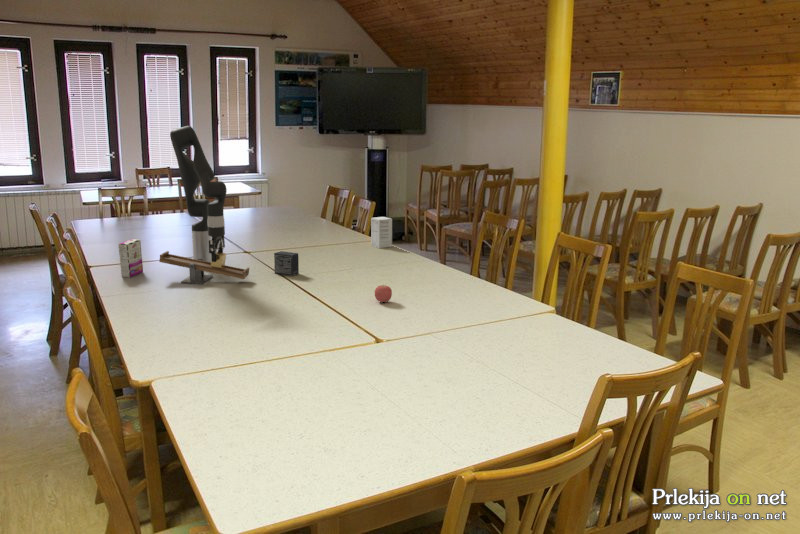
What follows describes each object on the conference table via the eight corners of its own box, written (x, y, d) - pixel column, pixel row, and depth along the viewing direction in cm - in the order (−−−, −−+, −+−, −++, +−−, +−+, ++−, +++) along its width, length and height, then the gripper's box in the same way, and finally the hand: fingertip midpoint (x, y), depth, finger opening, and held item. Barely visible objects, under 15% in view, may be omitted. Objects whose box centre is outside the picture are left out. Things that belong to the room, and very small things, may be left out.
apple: (375, 299, 295) (375, 281, 293) (392, 299, 295) (392, 282, 293) (373, 304, 288) (374, 286, 286) (391, 304, 287) (391, 286, 285)
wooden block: (214, 265, 319) (215, 251, 318) (224, 267, 319) (226, 253, 317) (210, 268, 314) (212, 253, 313) (220, 270, 314) (222, 255, 313)
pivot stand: (192, 276, 326) (191, 257, 324) (212, 276, 325) (212, 258, 323) (181, 283, 313) (180, 264, 310) (202, 284, 312) (201, 265, 310)
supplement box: (392, 246, 400) (392, 218, 396) (379, 248, 395) (379, 219, 391) (383, 243, 408) (384, 216, 404) (370, 245, 403) (370, 217, 399)
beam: (166, 258, 322) (167, 251, 321) (248, 274, 321) (249, 267, 320) (159, 261, 314) (160, 254, 313) (243, 279, 313) (244, 271, 312)
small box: (299, 273, 335) (299, 252, 333) (292, 276, 330) (291, 255, 327) (281, 270, 340) (281, 250, 337) (274, 273, 334) (273, 252, 331)
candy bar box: (134, 271, 332) (131, 238, 328) (143, 272, 331) (141, 239, 327) (120, 277, 322) (117, 243, 318) (130, 278, 321) (127, 243, 317)
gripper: (213, 222, 319) (215, 256, 323) (202, 227, 305) (204, 262, 309) (229, 222, 318) (230, 256, 322) (218, 228, 305) (220, 263, 308)
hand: (217, 259), depth 315 cm, fingers open, 8 cm apart
